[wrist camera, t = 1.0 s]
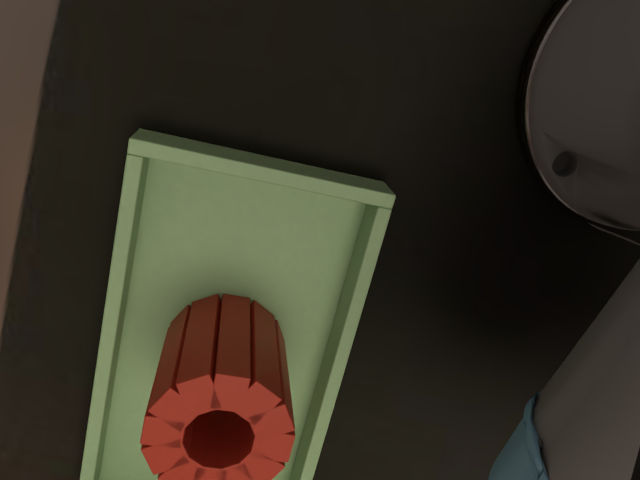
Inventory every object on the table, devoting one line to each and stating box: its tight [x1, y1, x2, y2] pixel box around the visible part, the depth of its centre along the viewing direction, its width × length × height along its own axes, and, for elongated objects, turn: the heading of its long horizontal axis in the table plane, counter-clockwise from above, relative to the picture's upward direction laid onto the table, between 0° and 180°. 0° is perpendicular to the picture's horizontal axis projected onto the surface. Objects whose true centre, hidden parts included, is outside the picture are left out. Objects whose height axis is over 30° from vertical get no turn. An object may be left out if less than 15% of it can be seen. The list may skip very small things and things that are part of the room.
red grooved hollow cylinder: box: [140, 294, 296, 480], centre depth 31 cm, size 7×7×8 cm
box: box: [80, 128, 396, 480], centre depth 34 cm, size 24×14×3 cm, turn 166°
